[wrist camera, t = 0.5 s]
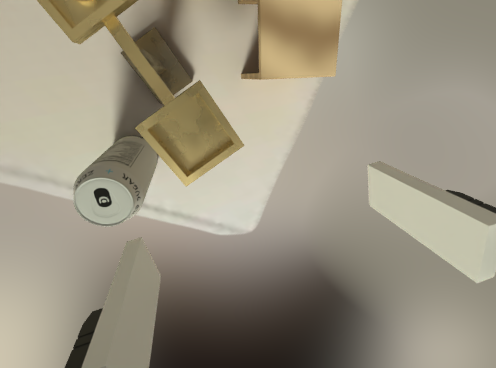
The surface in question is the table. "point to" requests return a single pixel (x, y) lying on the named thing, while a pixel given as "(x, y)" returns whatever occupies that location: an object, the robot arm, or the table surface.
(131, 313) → the robot arm
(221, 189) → the table surface
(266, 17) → the oak cover
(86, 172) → the energy drink can
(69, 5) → the balance
